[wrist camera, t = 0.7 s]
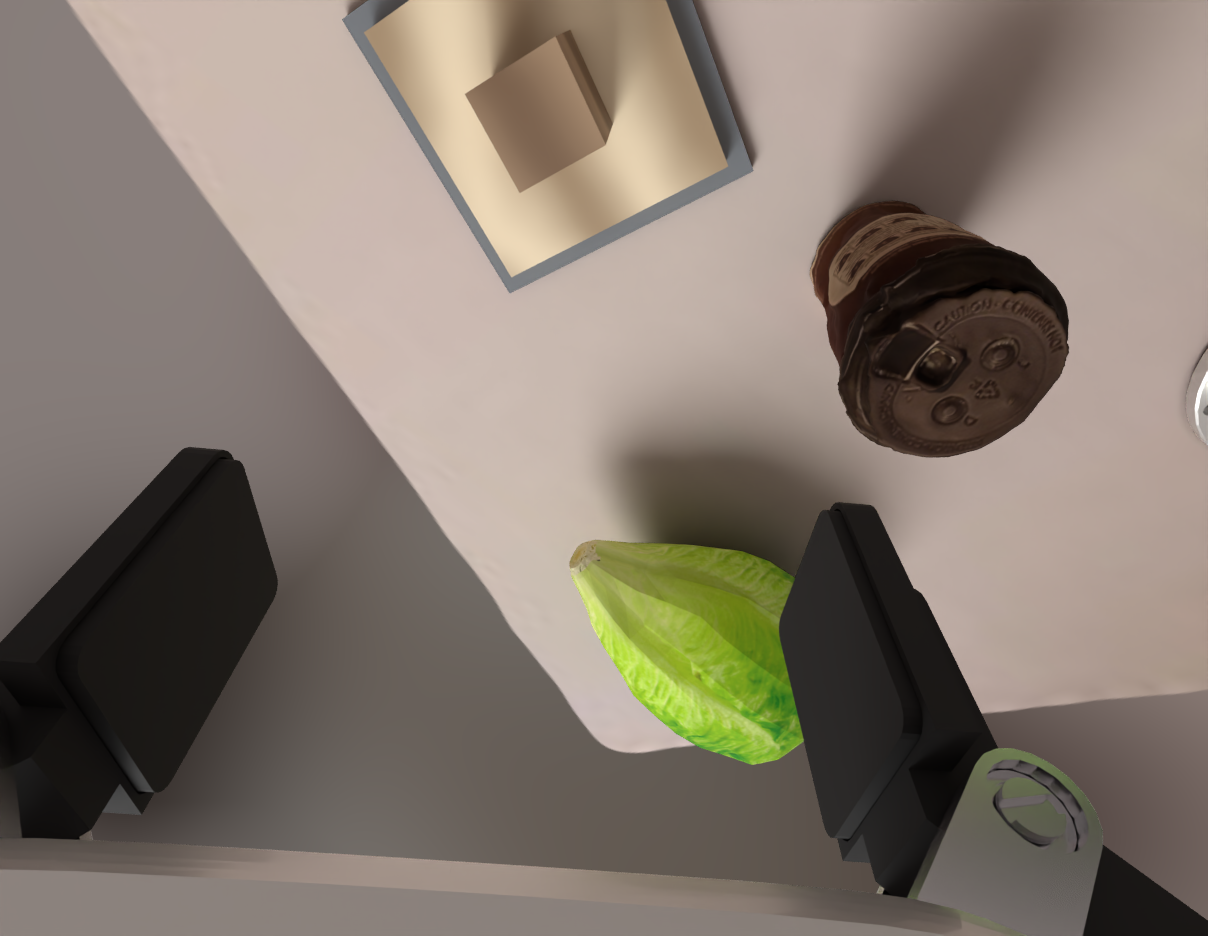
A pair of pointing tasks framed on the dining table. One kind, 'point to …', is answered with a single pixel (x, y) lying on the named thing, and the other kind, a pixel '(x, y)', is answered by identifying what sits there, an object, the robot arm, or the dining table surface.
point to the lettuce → (696, 640)
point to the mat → (739, 165)
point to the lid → (551, 112)
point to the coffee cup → (935, 330)
